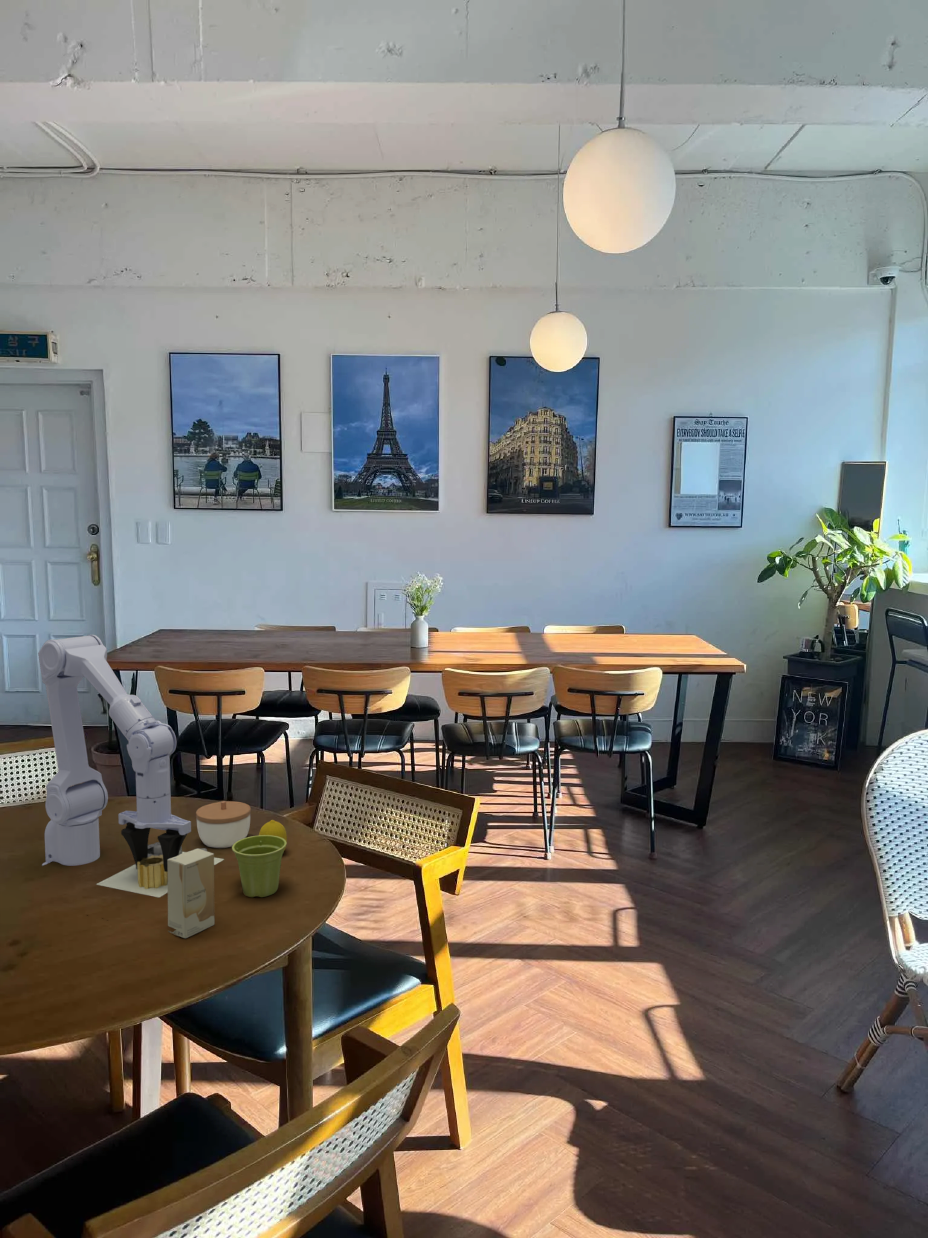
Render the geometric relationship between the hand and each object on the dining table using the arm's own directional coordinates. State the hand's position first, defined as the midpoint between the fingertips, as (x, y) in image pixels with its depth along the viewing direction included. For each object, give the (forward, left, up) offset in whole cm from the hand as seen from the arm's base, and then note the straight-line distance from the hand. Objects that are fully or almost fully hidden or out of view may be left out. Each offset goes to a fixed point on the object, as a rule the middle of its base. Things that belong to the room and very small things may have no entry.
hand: (155, 867), depth 150 cm
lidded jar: (-1, +21, -4) cm, 21 cm away
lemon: (+12, +19, -4) cm, 23 cm away
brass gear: (0, 0, -3) cm, 3 cm away
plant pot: (+18, +6, -4) cm, 19 cm away
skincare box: (+16, -10, -4) cm, 19 cm away
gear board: (-2, +4, -4) cm, 6 cm away
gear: (-4, +6, -3) cm, 8 cm away
